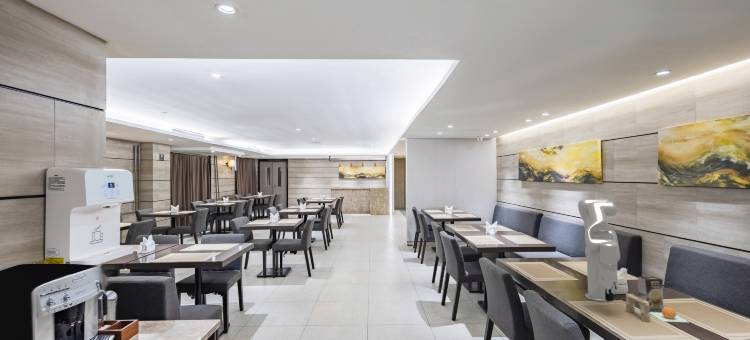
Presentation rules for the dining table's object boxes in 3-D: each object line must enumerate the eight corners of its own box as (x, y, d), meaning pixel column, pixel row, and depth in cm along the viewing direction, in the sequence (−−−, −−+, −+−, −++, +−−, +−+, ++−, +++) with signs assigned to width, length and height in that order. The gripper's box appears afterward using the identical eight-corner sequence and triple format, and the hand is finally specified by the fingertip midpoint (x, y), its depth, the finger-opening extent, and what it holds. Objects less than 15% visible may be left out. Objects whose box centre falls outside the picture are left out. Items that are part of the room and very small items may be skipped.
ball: (673, 314, 178) (663, 318, 179) (667, 304, 179) (657, 308, 180) (680, 317, 173) (669, 322, 174) (674, 307, 174) (663, 311, 175)
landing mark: (647, 312, 185) (647, 312, 185) (672, 313, 183) (672, 313, 183) (662, 321, 173) (662, 321, 173) (689, 322, 171) (689, 322, 171)
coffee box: (647, 309, 189) (646, 279, 190) (638, 305, 196) (637, 276, 196) (664, 308, 190) (662, 279, 190) (654, 304, 196) (653, 276, 197)
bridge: (643, 321, 173) (642, 302, 173) (626, 310, 187) (625, 293, 188) (649, 321, 173) (649, 303, 173) (632, 311, 187) (632, 293, 187)
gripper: (594, 261, 191) (594, 294, 192) (608, 270, 176) (608, 306, 177) (608, 261, 190) (609, 295, 191) (624, 270, 175) (624, 306, 176)
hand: (609, 300), depth 184 cm, fingers closed
